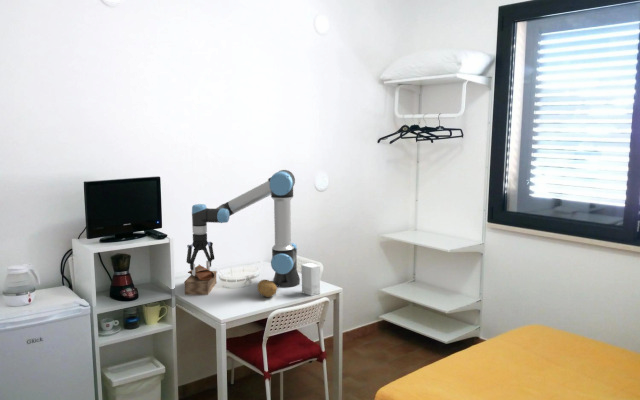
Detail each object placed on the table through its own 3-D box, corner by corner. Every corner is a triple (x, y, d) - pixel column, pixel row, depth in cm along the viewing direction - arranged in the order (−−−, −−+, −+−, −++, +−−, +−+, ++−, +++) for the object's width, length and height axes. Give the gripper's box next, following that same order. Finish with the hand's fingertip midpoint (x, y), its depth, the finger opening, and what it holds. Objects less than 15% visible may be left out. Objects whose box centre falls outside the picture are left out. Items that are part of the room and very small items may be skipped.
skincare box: (320, 293, 265) (320, 265, 263) (310, 296, 261) (311, 267, 259) (310, 289, 272) (310, 262, 269) (300, 292, 267) (300, 264, 265)
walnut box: (216, 283, 283) (216, 271, 282) (208, 295, 262) (207, 282, 261) (195, 283, 283) (194, 270, 282) (184, 295, 263) (184, 281, 262)
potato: (270, 290, 270) (270, 276, 269) (281, 298, 258) (281, 283, 257) (253, 293, 266) (253, 278, 264) (263, 301, 253) (263, 286, 252)
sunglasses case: (186, 272, 276) (191, 260, 277) (196, 276, 280) (202, 265, 281) (199, 280, 262) (205, 268, 263) (210, 284, 266) (216, 273, 267)
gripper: (214, 229, 277) (215, 269, 281) (178, 234, 265) (180, 275, 268) (220, 231, 271) (221, 272, 275) (184, 236, 259) (185, 279, 262)
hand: (201, 274), depth 271 cm, fingers closed on sunglasses case, 8 cm apart
